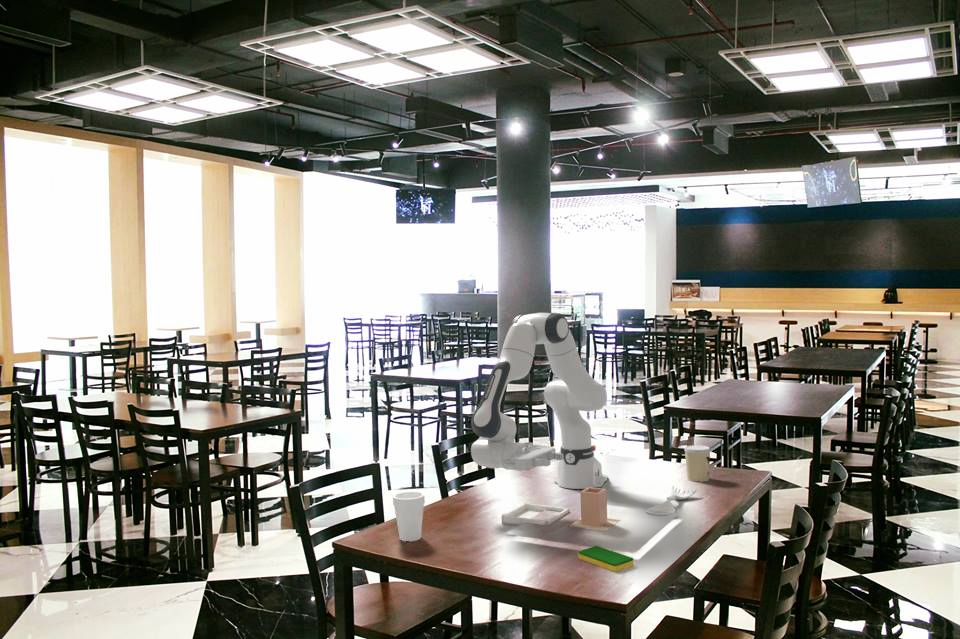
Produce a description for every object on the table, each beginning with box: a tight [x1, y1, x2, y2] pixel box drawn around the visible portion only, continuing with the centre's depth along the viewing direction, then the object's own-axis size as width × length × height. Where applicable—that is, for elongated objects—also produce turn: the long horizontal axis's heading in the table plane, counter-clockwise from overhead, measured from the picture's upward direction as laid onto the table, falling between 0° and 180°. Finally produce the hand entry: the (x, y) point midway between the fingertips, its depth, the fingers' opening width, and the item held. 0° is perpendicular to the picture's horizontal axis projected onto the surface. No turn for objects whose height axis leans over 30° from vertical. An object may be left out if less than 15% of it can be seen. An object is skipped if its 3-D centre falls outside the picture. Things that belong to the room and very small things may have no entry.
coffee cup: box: [684, 444, 711, 483], centre depth 290 cm, size 9×9×12 cm
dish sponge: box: [578, 545, 634, 573], centre depth 206 cm, size 7×14×2 cm, turn 36°
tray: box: [501, 502, 570, 527], centre depth 246 cm, size 16×16×2 cm
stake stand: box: [568, 517, 621, 532], centre depth 236 cm, size 12×12×8 cm
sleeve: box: [580, 487, 608, 527], centre depth 236 cm, size 6×6×10 cm
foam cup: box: [392, 490, 426, 542], centre depth 232 cm, size 10×9×13 cm
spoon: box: [645, 485, 698, 516], centre depth 255 cm, size 9×32×4 cm, turn 149°
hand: (556, 460), depth 241 cm, fingers open, 8 cm apart
